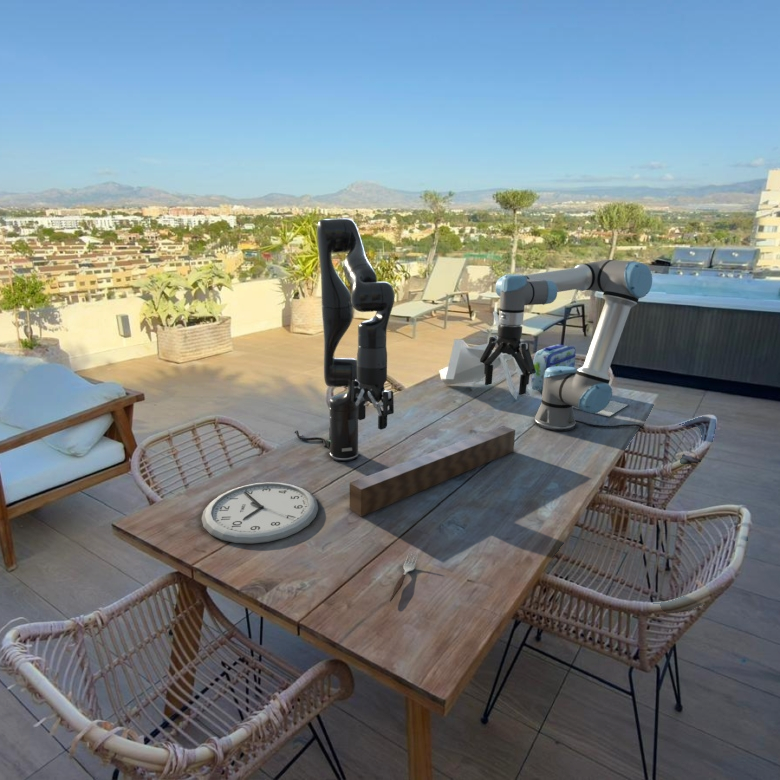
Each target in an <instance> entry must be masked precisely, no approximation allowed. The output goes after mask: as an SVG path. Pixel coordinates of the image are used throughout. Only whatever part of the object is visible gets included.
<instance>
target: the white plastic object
mask: <svg viewBox="0 0 780 780" xmlns="http://www.w3.org/2000/svg"><path fill="white" fill-rule="evenodd" d="M492 315H493V319H494V321H495V324H496V325H495V326H496V328H497V329H498V326H499V325H500V323H499V314H498V312H497V311H496V310H495V311H492ZM488 344H489V342H487V343H483V344H479V345H473V346H469V345H468V343H466V342H465V340H464V339H463V338H460V339H458V338H454V340H453V344H452V349H451V353H450V357H449V362H448V366H446V367H444V368H442V369H440V370H439V371H438V372H439V376H440V381H442V383H443V384H444V385H445V386H449V385H458V384H467V383H468V384H469V383H473V384H477V383H480V382H482V381H484V378H485V377H486V374H484V369H485V365H484V363H482V362H480V359H481V357H482V355H483V353H484V351H485V349H486V347H487V346H488ZM494 351H495V349H493V351H492V352H491V354H490V356H491V355H492V353H493V352H494ZM490 356H489V357H490ZM510 360H513V363H514V366H515V369H516V372H517V376H518V380H520V375H522V374H523V373H522V371H521V369H520V368H519V366H518V364H517V362H516V360H515V358H514V357H512V355H508V354H506V353H501V354H500V355H499V356H498V357H497V358H496V359H495V360H494V361H493V362H492V363H491V364H490V365H493V371H495V370H496V369H497V368H499V367H500V366H502V370H503V373H504V376H505V380H506V383H507V386H508V390H509V393H510V394H511V395H512V397H513V398H514V399H515V400H517V392H516V391H517V390H516V388H515V385H514V381H513V378H512V375H511V371H510V369H509V365H508V361H510ZM528 387H529V386H528V385H526V394H525V396H526V397H528V396H531V395H530V390H529V388H528Z"/></svg>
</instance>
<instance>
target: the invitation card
mask: <svg viewBox="0 0 780 780" xmlns="http://www.w3.org/2000/svg"><path fill="white" fill-rule="evenodd" d="M628 406H629V404H627V403H623V402H618V401H614V400H610V402H609V404H608V405H607V406H606V407H605V408H604V409H603V410H601V411H600V412H597V413H595V414H596V415H600V416H604V417H608V418H609V417H611V416H613V415H614V414H616V413H617V412H619V411H621V410H623V409H624V408H626V407H628ZM573 409H575V410H579V409H578V408H576V407H573Z"/></svg>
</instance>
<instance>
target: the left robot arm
mask: <svg viewBox="0 0 780 780" xmlns="http://www.w3.org/2000/svg"><path fill="white" fill-rule="evenodd" d="M316 241H317V252H318V259H319V260H318V261H319V271H320V286H321V287H320V290H321V292H320V293H321V316H322V317H321V318H322V328H323V329H322V330H323V379H324V383H325V385H326V387H329V388H347V389H346V390H345V391H343V392H341V393H338V394H335V395H333V396H331V397H330V398H329V402H328V405H329V406H328V408H329V409H328V410H329V427H328V438H327V439H325V438H323V437H319V436H316V437H301V436H300V433H299V430H297V429H296V430H294V432H293V434H295V435H296V437H297V438H298V439H299V440H301V441H322V442H323V447H324V448H326V447H327V448H328V449H329V457H330V459H332V460H334V461H337V462H351V461H353V460H356V459H357V458H358V457H359V421H362V420H365V419H366V407H367V406H366V403H367V402H368V403H370V404H372V406H373V408H374V409H375V410H376V411H377V413H378V415H377V428H378V429H379V430H381V431H382V430H385V429H387V427H388V415H392V414H394V412H395V408H394V406H395V405H394V402H395V401H394V391H393V390H386V389H385V384H386V382H387V381H388V350H387V336H388V335H387V333H388V332H387V330H388V325H389V321H390V317H391V314H392V310H393V307H394V304H395V297H396V296H395V290H394V288H393V286H392V284H391V283H389V282H387V281H378V277H377V274H376V272H375V270H374V268H373V266H372V265H371V263H370V261H369V259H368V258H367V255H366V251H365V248H364V245H363V242H362V238H361V236H360V232H359V229H358V227H357V224H356V223H355V222H354V221H353V219H351V218H325V219H320V220H319V221H318V223H317V225H316ZM344 253H347V255H346V256H345V258H344V261H343V265H342V266H343V267H342V268H343V274H344V276H345V278H346V280H347V282H348V284H349V287H350V289H348V287H347V286H346V284H345V283H344V281H343V280H342V278H341V277H340V276H339V274H338V272H337V270H336V268H335V266H334V263H333V259H332V254H344ZM354 310H356V311H357V312H360V313H370V312H372V313H373V312H375V314H374V316H373V317H372V318H370V319H367V320H363V321H361V322H360V323H359V324H358V326H357V352H356V358H354V357H353V358H351V357H350V358H349V357H348V358H347V357H336V356H335V353H336V351H337V348H338V346H339V343H340V342H341V340H342V338H343V337H344V336H345V334H346V333H347V331H348V329H349V328H350V327H351V325H352V322H353V320H354V319H353V318H354ZM378 429H377V430H378Z"/></svg>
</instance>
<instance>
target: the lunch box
mask: <svg viewBox="0 0 780 780" xmlns="http://www.w3.org/2000/svg"><path fill="white" fill-rule="evenodd" d="M576 357H577V355H576V347H575V346H569V345H565V344H554V345H550V346H547V347H544V348H542V349H541V348H540V349H539V350H537V351H536V352H535V353H534V356H533V358H532V360H533V364H534V367H535V370H536V373H534V374H531V382H530V383H531V386H530V387H531V389H532V390H533V391H537V392H542V390H543V378H544V375H545V370H546V369H547V368H549V367H555V366H568V367H574V368H575V364H576Z"/></svg>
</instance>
